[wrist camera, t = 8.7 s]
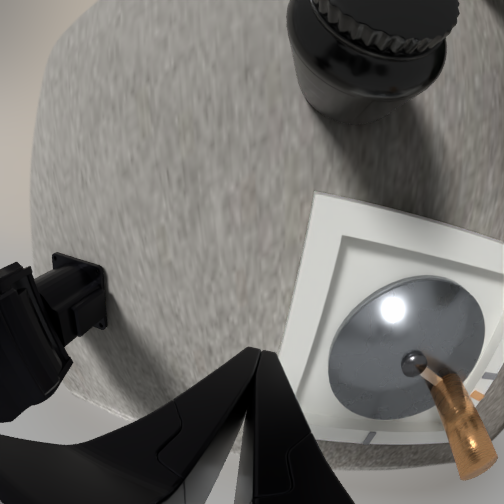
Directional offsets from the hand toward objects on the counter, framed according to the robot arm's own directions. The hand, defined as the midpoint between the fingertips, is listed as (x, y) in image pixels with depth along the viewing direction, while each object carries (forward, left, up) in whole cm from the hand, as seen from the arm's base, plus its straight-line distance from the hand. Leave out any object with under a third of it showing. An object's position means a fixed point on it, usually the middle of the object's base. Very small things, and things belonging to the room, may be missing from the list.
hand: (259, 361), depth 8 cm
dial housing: (+11, -6, -12) cm, 18 cm away
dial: (+11, -6, -11) cm, 17 cm away
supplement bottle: (+2, +12, -13) cm, 18 cm away
